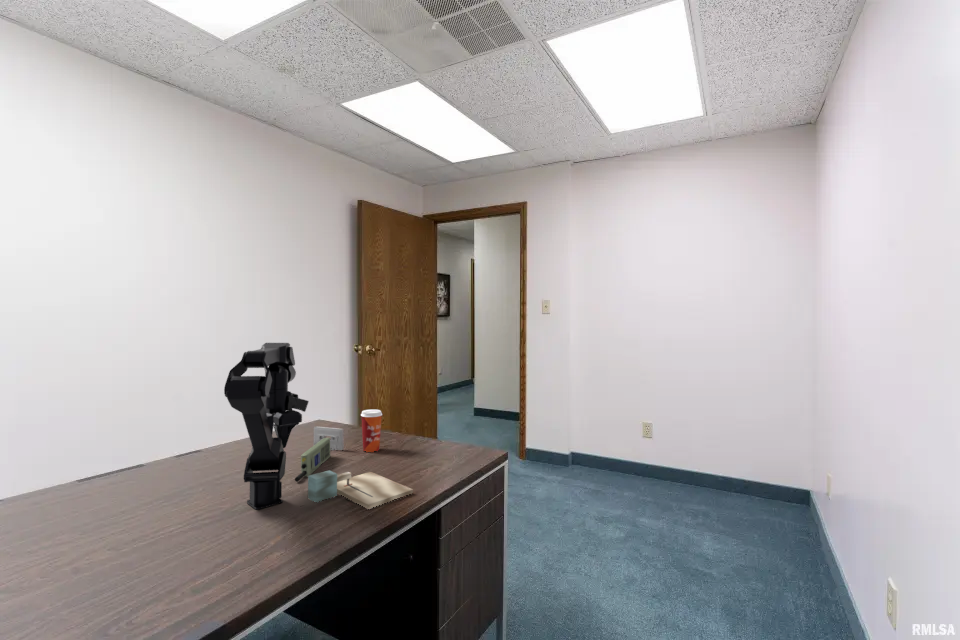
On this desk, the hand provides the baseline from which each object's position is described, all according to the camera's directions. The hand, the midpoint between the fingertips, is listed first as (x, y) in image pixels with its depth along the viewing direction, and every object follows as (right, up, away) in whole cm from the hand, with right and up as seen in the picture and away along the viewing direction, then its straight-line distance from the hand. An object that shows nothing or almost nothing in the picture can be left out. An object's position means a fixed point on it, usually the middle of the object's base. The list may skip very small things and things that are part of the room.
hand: (275, 444), depth 124 cm
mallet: (+17, -12, -4) cm, 21 cm away
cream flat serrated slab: (+26, -12, -1) cm, 29 cm away
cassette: (+2, -12, +37) cm, 39 cm away
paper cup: (+17, -12, +37) cm, 42 cm away
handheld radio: (+4, -13, +17) cm, 21 cm away
